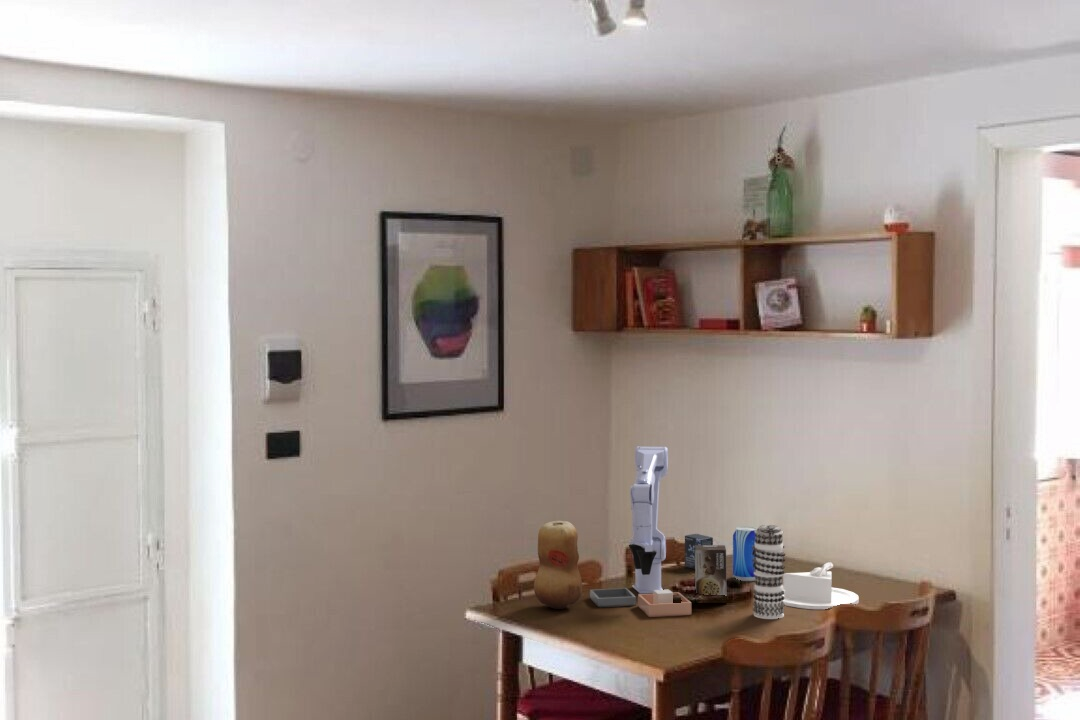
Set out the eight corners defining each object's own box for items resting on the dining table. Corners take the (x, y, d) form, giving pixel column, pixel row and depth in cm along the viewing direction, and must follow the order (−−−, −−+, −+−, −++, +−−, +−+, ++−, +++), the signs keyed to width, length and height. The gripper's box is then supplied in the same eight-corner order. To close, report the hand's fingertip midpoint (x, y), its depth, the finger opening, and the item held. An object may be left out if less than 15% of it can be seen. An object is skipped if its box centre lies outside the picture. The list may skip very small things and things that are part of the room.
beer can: (740, 574, 398) (740, 524, 397) (764, 577, 393) (764, 527, 392) (728, 579, 391) (728, 529, 390) (752, 582, 386) (752, 531, 386)
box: (684, 567, 410) (684, 535, 409) (697, 564, 413) (697, 533, 412) (700, 571, 403) (700, 539, 403) (713, 569, 407) (713, 536, 406)
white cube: (653, 607, 355) (653, 590, 355) (668, 606, 356) (668, 589, 356) (658, 611, 351) (657, 593, 351) (673, 610, 352) (673, 592, 351)
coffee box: (725, 599, 366) (725, 544, 365) (727, 604, 360) (727, 549, 359) (694, 598, 367) (694, 544, 366) (695, 604, 361) (695, 548, 360)
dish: (857, 591, 375) (857, 554, 374) (859, 612, 351) (859, 572, 350) (774, 588, 381) (774, 551, 380) (770, 608, 356) (770, 569, 356)
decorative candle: (749, 611, 352) (749, 523, 351) (782, 611, 352) (782, 523, 351) (754, 619, 343) (754, 529, 342) (788, 619, 343) (788, 529, 341)
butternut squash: (533, 614, 351) (532, 526, 350) (535, 602, 364) (534, 517, 363) (582, 614, 350) (581, 526, 349) (582, 602, 364) (582, 517, 362)
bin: (638, 606, 359) (638, 594, 358) (679, 604, 361) (679, 592, 360) (649, 617, 347) (649, 604, 346) (691, 614, 349) (691, 602, 348)
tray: (589, 598, 369) (589, 589, 369) (626, 596, 371) (626, 587, 371) (598, 607, 358) (598, 598, 358) (636, 605, 360) (636, 596, 360)
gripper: (622, 521, 367) (623, 566, 368) (635, 530, 353) (635, 577, 353) (646, 520, 368) (646, 565, 369) (659, 529, 354) (659, 576, 355)
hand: (642, 571), depth 361 cm, fingers open, 7 cm apart
